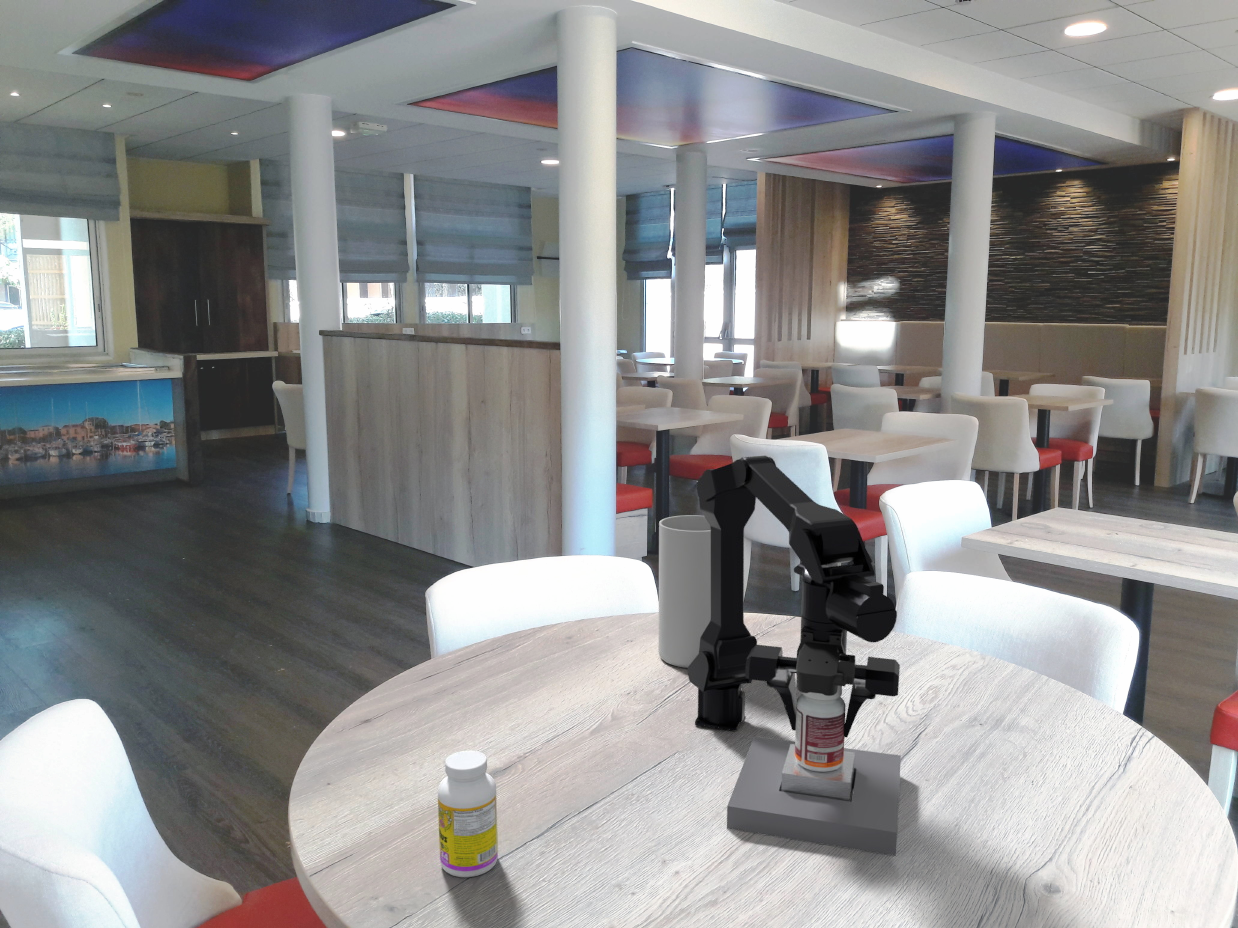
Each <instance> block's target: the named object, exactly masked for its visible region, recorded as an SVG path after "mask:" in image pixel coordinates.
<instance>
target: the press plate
mask: <svg viewBox="0 0 1238 928" xmlns="http://www.w3.org/2000/svg"><path fill="white" fill-rule="evenodd" d="M790 744H795V740H794V741H793V740H788V739H779V738H773V737H772V738H771V737H766V736H763V737H762V736H757V735H754V736H753V738H752V741H751V744H750V745H749V746H750V747H749V749H748V752H747V754H746V757H745V759H744V761H743V764H742V766H741V769H740V772H739V774H738V777H737V780H736V783H735V785H734V788H733V790H732V793H731V795H730V798H729V800H728V803H727V805H726V806H727V807H726V830H727V829H728V830H733V831H734V830H735V831H739V832H746V833H750V834H751V833H752V834H758V835H764V836H770V837H776V838H780V839H781V838H783V839H789V840H794V841H800V842H801V841H802V842H806V843H807V842H808V843H812V844H818V845H819V844H820V845H826V846H831V847H836V848H837V847H838V848H843V849H850V850H857V851H862V852H870V853H874V854H879V855H886V856H893V857H897V845H898V844H897V843H898V841H897V840H898V825H899V823H898V822H899V805H900V804H899V801H900V781H901V780H900V779H901V759H902V758H901V757H902V756H901V755H899V754H892V753H885V752H877V751H869V750H861V749H856V748H855V749H854V748H845V747H844V751H847V752H855V761H854V776H853V783H852V790H853V793H852V798H851V799H852V800H851V801H850V802H849V801H842V800H835V799H829V798H822V797H815V796H809V795H802V794H795V793H788V792H782V791H781V787H782V771H783V768H784V764H785V761H786V758H787V754H788V751H789V747H790Z"/></svg>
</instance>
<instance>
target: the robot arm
mask: <svg viewBox="0 0 1238 928" xmlns="http://www.w3.org/2000/svg"><path fill="white" fill-rule="evenodd" d="M696 492H697V496H698V503H699V510H700V511H701V513H702V516H705V518H706V520H707V521H708V523H709V525H710V527H711V620H710V622H709V624H708V626H707V627H706V629H705V631H704V632H703V634H702V636H701V638H700V646H699V654H698V655H697V656H696V658H695V659H694V660H693V661H692V663H691V664H690V665H689V666H688V668H687V673H688V674H687V675H688V681H689V683H690V684H692V685H693V686H695V688H697V717H696V719H695V721H694V726H697V727H703V728H711V729H719V730H726V731H738V729H739V726H740V724H741V723H742V722H743V721H744V719H745V717H746V712H745V711H746V692H745V690H742V689H743V685H744V684H745V685H746V684H749V685H750V684H752V682H753V681H759V682H765V685H766V686H767V687H769V688H773V689H774V690H775V691H776V692H777V693H778V695H779V696H780V698H781V701H782V703H783V706H784V709H785V712H786V715H787V718H788V721H789V724H790V727H791V730H792V731H795V732H796V704H797V691H798V692H800V693H801V692H802V693H809V692H811V693H820V694H824V695H826V696H832V695H835V694H836V693H837V690H838V686H842V687H846V685H850V686H851V690H850V697H849V699H848V700H849V701H848V707H847V712H846V715H845V727H844V738H848V736H849V734H850V731H851V729H852V727H853V724H854V722H855V719H856V718H857V717H856V716H857V714H858V712H859V710H861V707H862V706H863V704H864V703H865V701H866V700H875V699H876V697H877V696H876V695H878V696H886V697H897V696H898V695H899V684H900V669H901V668H900V667H901V666H900V665H901V664H900V663H899V662H898V661H897V659H894V658H893V659H892V658H886V657H876V656H875V657H874V656H867V661H866V664H856V655H853V654H847V647H848V646H847V643H848V642H847V641H848V633H850V634H852V635H853V636H854V635H855V636H856V637H857V638H860V639H861V640H863V641H865V642H867V643H878V642H881V641H883V640H884V639H886V638H887V637H888V636H889V635H890V634H891V632H892V631H893V630H894V628H895V625H896V622H897V617H898V612H897V611H898V610H896V605H895V604H894V602H893V600H892V599H891V598H890V597H889V596H887V595H885V594H884V589H885V587H884V584H883V583H880V582H878V581H872V580H869V579H867V578H873V577H875V576H876V575H875V573H876V572H875V570H874V567H873V564H872V563H873V560H872V558H871V555H870V554H869V553H868V550H867V548H866V545H865V543H864V540H863V537H862V535H861V532H860V529H859V527H858V525H857V523H856V522H855V521H854V520H853V518H850V517H849V516H848V515H846V514H845V513H843V512H841V511H839V510H838V509H835V508H831V507H828V506H825V505H821V504H820V503H817V502H816V501H814V500H813V499H812V498H811V497H810V496H809V495H808V494H807V493H806V492H804V491H803V490H802V489H801V488H800V487H799V486H798V485H797V484H796V483H795V482H794V481H793V480H792V479H791V478H790V477H788V476H787V475H786V474H785V473H784V472H783V471H782V470H781V469H780V468H779V467H777V465H776V462H775V460H774V458H773V457H771V456H768V455H758V456H757V455H755V456H754V455H753V456H742V457H740V458H739V459H736V460H734V461H733V462H731V463H728V464H725V465H723V466H720V467H718V468H713V469H712V468H711V469H709V468H707V469H706V470H704V471H703V473H702V475H701V476H699V478H698V480H697V483H696ZM757 500H758V501H760V503H761V504H762V505H763V506H764V507H765V508H766V509H767V510H768V511H769V513H771V514H772V515H773V516H774V517H775V518H776V519H777V520H778V521H779V522H780V523H781V524H782V525H783V526H784V528H785V529H786V530H787V532H788V545H789V546H790V548H791V549H792V550H793V553H795V555H796V556H797V558H798V559H799V560H800V563H799V564H797V565H796V566H794V568H793V572H794V573H795V574H797V575H799V576H801V577H802V585H801V586H802V587H801V608H800V609H801V610H800V611H801V612H800V613H801V614H800V641H799V645H798V647H797V649H796V657H791V656H784V655H783V647H781V646H775V645H774V646H772V645H763V644H758V640H757V638H756V636H755V635H752V634H751V633H750V631H749V629H748V628H747V626H746V625H745V621H744V619H745V615H744V611H745V610H744V608H745V607H744V603H745V599H744V598H745V597H744V596H745V595H744V592H745V591H744V590H745V583H744V582H745V578H744V575H745V569H744V568H745V566H744V565H745V528H746V526H747V524H748V522H749V520H750V519H751V517H752V515H753V514H754V512H755V510H756V501H757ZM851 561H852V563H850V564H843V563H849V562H851ZM834 564H842V565H834ZM828 565H834V566H828ZM802 693H801V694H802Z"/></svg>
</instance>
